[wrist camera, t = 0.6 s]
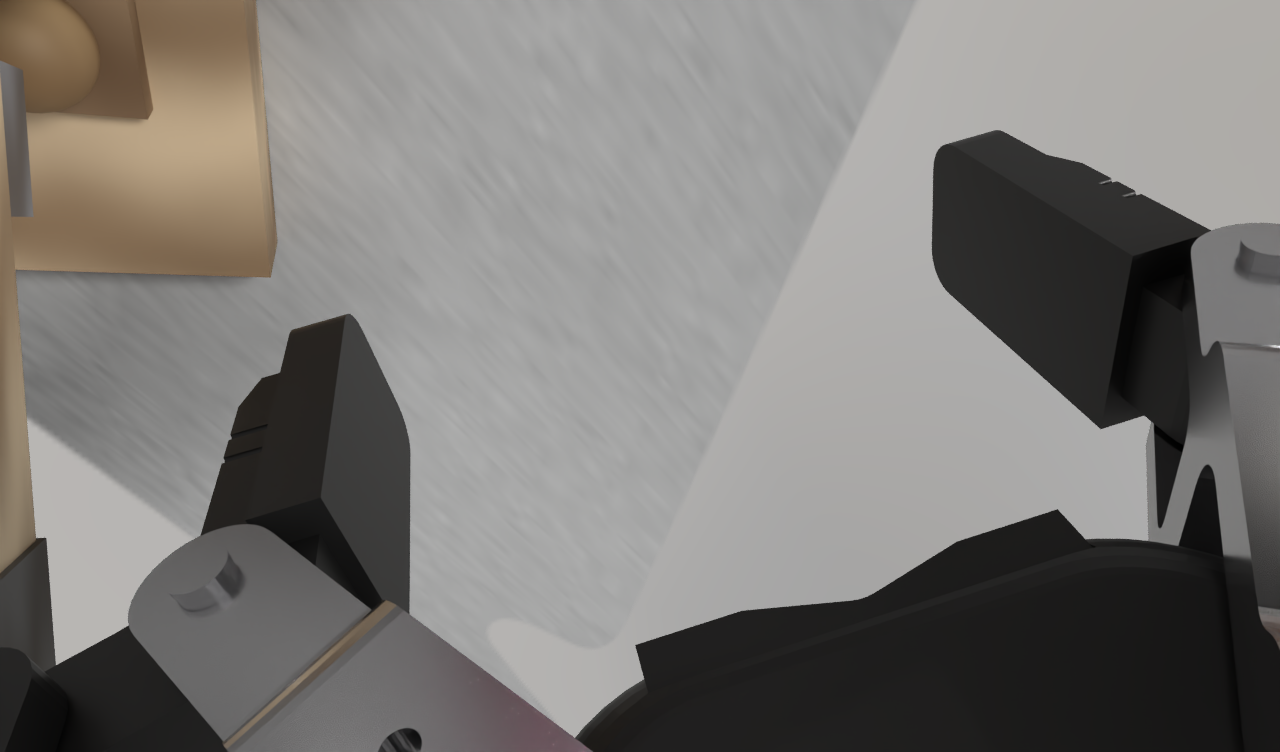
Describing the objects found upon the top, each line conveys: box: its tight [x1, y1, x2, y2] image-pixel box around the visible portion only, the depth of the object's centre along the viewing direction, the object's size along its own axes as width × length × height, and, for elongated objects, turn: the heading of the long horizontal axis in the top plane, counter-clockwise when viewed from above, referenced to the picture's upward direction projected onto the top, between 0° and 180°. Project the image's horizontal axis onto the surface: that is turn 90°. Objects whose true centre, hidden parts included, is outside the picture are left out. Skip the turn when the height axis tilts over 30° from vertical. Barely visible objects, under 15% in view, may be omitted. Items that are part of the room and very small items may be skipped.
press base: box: [0, 0, 277, 277], centre depth 20 cm, size 18×10×11 cm, turn 169°
